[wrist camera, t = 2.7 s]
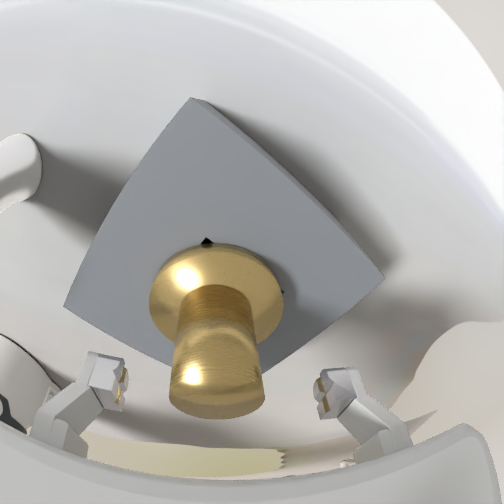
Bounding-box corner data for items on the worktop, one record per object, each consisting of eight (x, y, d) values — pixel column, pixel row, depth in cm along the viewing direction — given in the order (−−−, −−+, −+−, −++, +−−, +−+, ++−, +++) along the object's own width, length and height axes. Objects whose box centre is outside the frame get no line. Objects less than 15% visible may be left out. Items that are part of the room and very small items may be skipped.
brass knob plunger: (223, 284, 23) (231, 440, 12) (156, 240, 20) (104, 397, 9) (279, 228, 21) (341, 383, 9) (210, 172, 18) (189, 310, 7)
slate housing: (229, 322, 26) (233, 391, 19) (102, 243, 21) (63, 306, 14) (339, 221, 22) (385, 278, 15) (204, 100, 16) (190, 97, 9)
